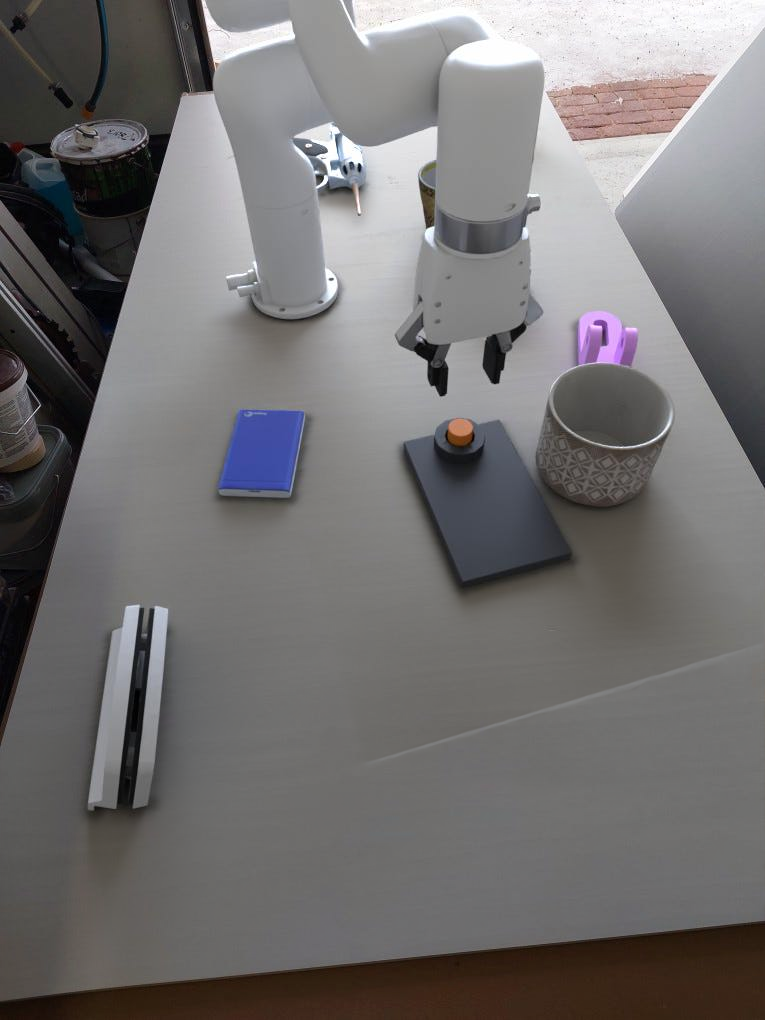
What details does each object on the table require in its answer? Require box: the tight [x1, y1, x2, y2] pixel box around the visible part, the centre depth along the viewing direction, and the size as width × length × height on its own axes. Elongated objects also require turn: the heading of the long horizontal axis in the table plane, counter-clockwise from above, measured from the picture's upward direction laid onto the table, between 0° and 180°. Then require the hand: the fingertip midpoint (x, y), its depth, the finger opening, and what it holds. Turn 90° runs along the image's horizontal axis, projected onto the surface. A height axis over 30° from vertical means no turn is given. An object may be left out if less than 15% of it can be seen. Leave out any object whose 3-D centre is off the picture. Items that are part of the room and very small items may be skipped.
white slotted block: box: [87, 604, 169, 812], centre depth 60 cm, size 17×5×10 cm, turn 6°
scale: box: [403, 417, 573, 589], centre depth 76 cm, size 12×20×3 cm, turn 16°
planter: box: [535, 363, 676, 507], centre depth 75 cm, size 13×13×10 cm
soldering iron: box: [292, 122, 367, 217], centre depth 118 cm, size 6×28×16 cm
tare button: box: [448, 418, 473, 447], centre depth 78 cm, size 3×3×2 cm
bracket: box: [576, 310, 639, 368], centre depth 89 cm, size 13×6×7 cm, turn 172°
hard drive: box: [217, 408, 306, 499], centre depth 81 cm, size 2×8×12 cm
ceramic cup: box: [417, 159, 436, 231], centre depth 105 cm, size 13×10×10 cm
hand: (464, 380), depth 72 cm, fingers open, 5 cm apart
